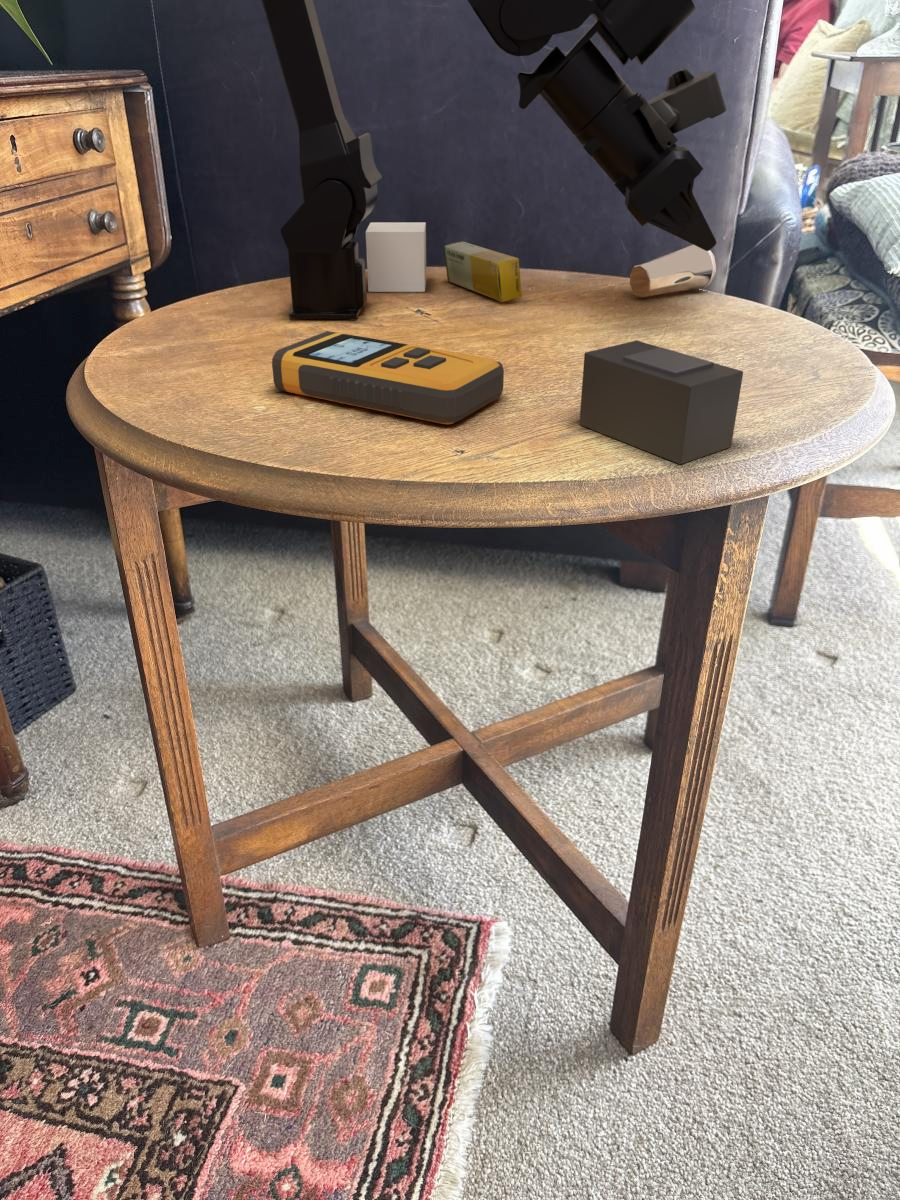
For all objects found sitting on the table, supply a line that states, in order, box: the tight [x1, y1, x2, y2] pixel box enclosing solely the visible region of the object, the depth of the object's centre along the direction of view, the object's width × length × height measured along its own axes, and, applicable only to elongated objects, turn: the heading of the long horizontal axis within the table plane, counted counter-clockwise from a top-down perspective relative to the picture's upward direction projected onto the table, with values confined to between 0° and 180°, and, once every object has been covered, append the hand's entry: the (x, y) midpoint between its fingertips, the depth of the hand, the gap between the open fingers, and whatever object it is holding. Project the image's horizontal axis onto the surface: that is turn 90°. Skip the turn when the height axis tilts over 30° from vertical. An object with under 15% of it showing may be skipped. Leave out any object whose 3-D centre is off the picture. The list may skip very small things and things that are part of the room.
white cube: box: [365, 221, 427, 293], centre depth 100 cm, size 6×6×6 cm
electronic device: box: [271, 330, 505, 425], centre depth 69 cm, size 8×16×3 cm, turn 59°
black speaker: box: [578, 340, 744, 465], centre depth 61 cm, size 5×5×9 cm
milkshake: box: [629, 244, 717, 298], centre depth 98 cm, size 4×5×10 cm
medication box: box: [443, 241, 523, 303], centre depth 98 cm, size 12×3×4 cm, turn 27°
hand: (712, 246), depth 85 cm, fingers closed
